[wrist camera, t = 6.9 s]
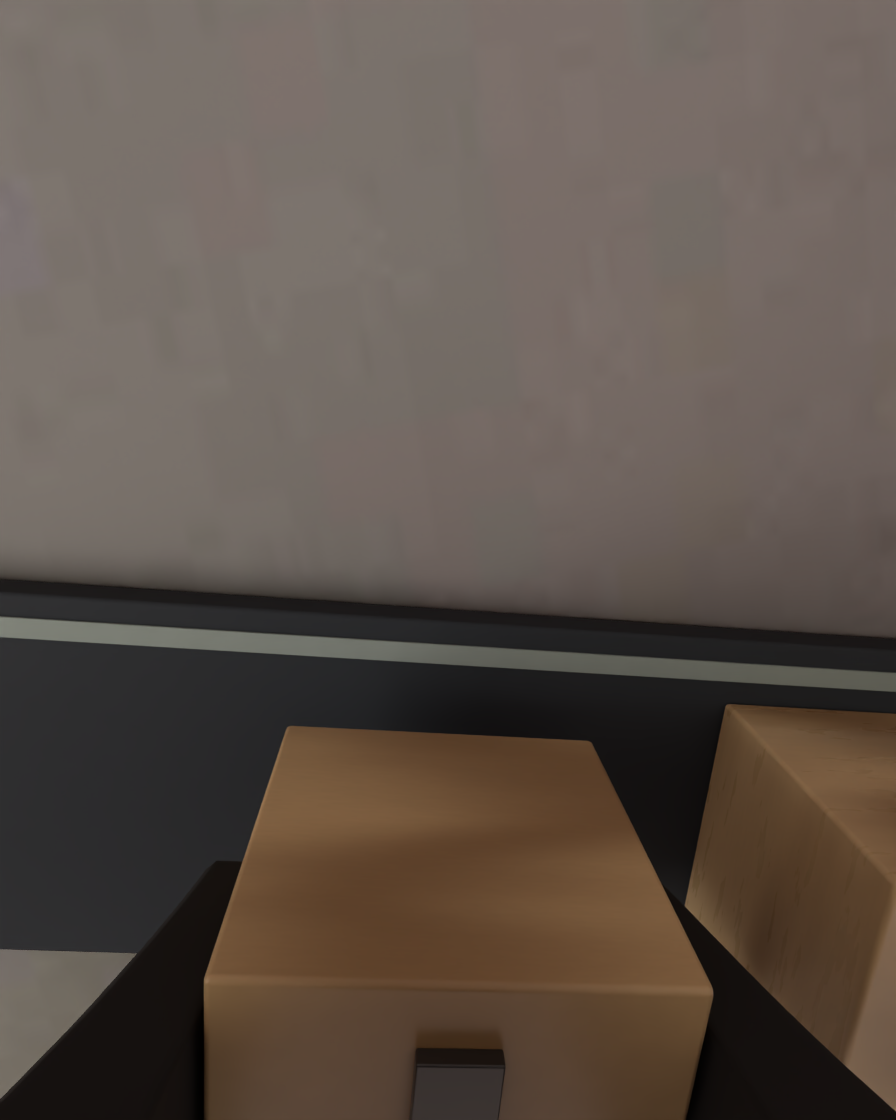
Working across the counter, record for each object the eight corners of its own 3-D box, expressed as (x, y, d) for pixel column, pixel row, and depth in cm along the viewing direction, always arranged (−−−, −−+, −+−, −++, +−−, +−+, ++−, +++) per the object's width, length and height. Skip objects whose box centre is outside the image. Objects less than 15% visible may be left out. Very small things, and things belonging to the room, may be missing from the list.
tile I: (592, 738, 10) (727, 1008, 6) (554, 984, 11) (645, 1363, 7) (286, 722, 9) (194, 996, 5) (278, 978, 10) (196, 1371, 6)
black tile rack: (983, 643, 12) (1014, 659, 11) (892, 951, 13) (916, 979, 13) (-158, 567, 10) (-195, 580, 10) (-113, 918, 12) (-141, 948, 11)
